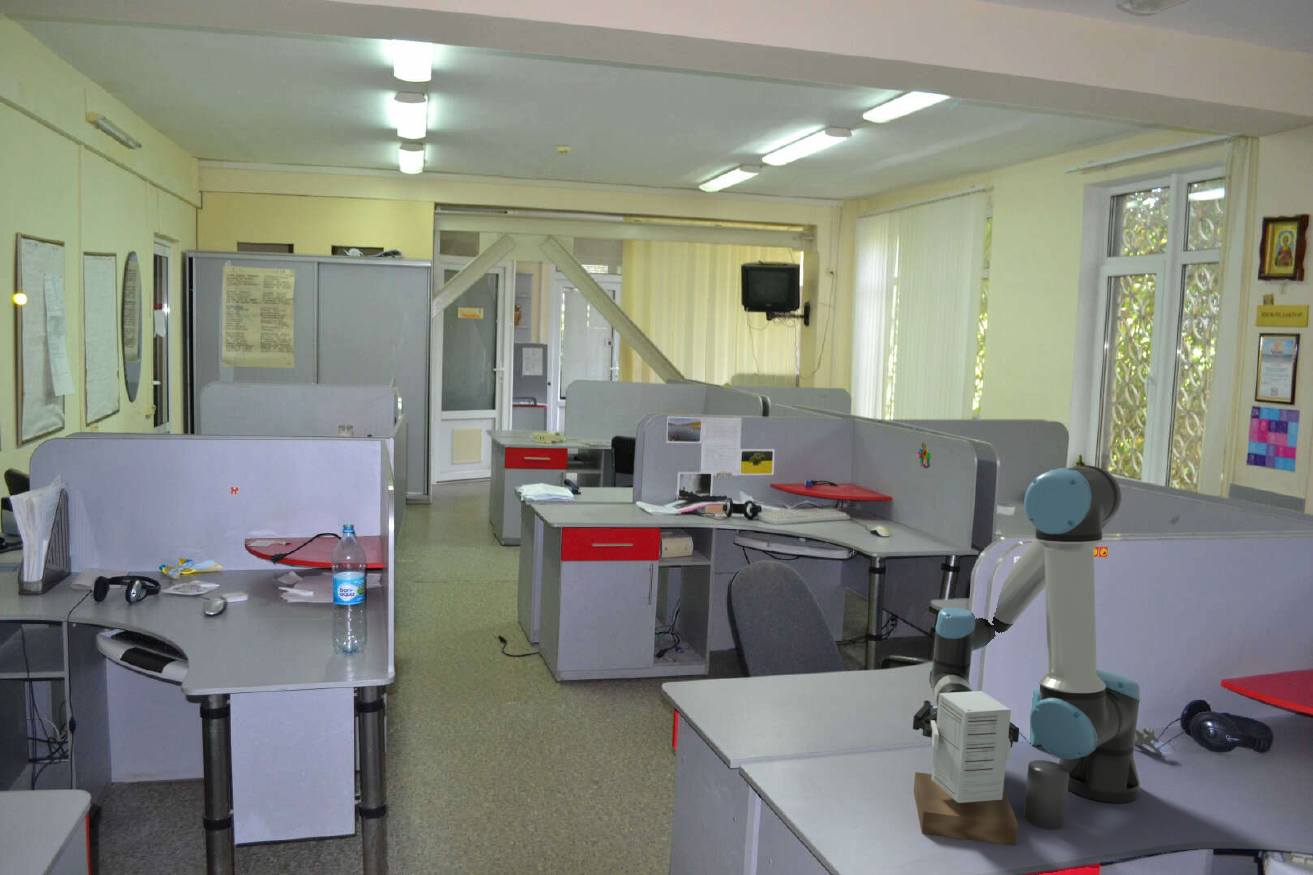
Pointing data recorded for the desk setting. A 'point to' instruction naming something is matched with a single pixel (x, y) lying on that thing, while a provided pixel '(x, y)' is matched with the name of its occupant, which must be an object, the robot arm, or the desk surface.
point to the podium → (963, 814)
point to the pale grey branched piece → (1146, 739)
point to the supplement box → (971, 746)
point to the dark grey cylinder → (1046, 794)
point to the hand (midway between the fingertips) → (971, 746)
